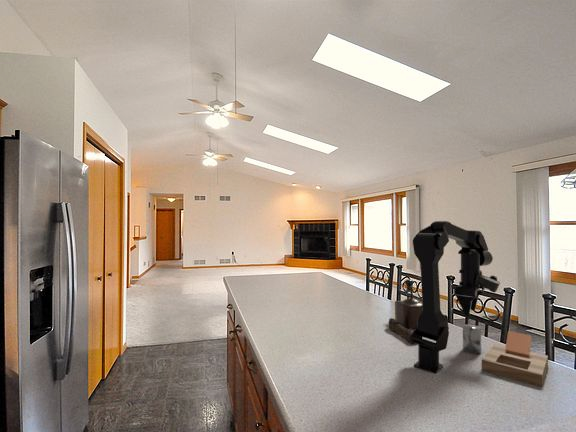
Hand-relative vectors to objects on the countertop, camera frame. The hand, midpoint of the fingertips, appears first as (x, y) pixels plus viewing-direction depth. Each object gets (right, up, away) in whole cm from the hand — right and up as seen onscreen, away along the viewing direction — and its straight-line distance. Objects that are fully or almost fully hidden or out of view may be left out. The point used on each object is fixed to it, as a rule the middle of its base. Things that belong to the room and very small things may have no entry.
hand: (470, 313), depth 111 cm
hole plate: (+6, -12, -14) cm, 20 cm away
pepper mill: (-10, -14, +30) cm, 34 cm away
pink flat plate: (+10, -7, -9) cm, 15 cm away
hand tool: (-19, -13, +14) cm, 27 cm away
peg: (0, -13, -1) cm, 13 cm away
